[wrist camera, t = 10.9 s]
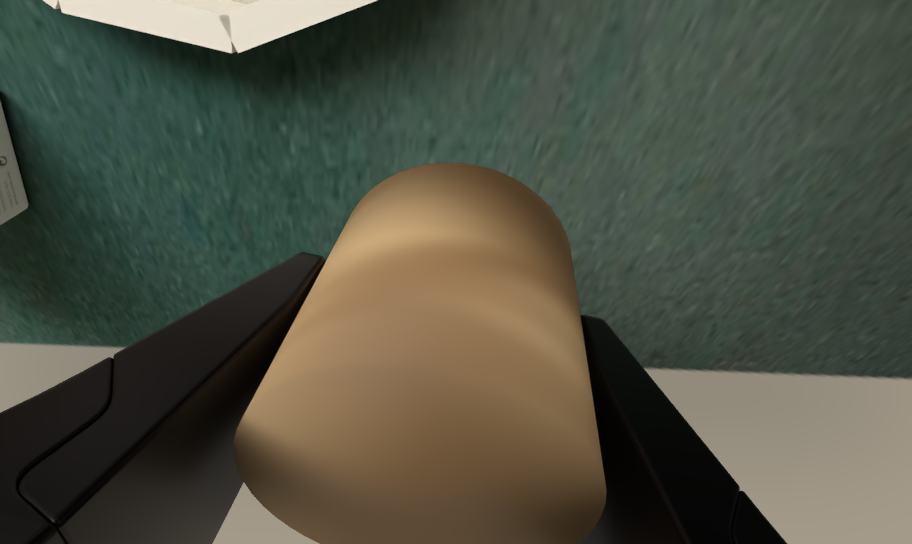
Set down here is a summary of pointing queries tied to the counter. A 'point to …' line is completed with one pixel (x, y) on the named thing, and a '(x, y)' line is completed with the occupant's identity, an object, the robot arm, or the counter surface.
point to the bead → (433, 377)
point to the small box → (9, 177)
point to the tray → (211, 18)
